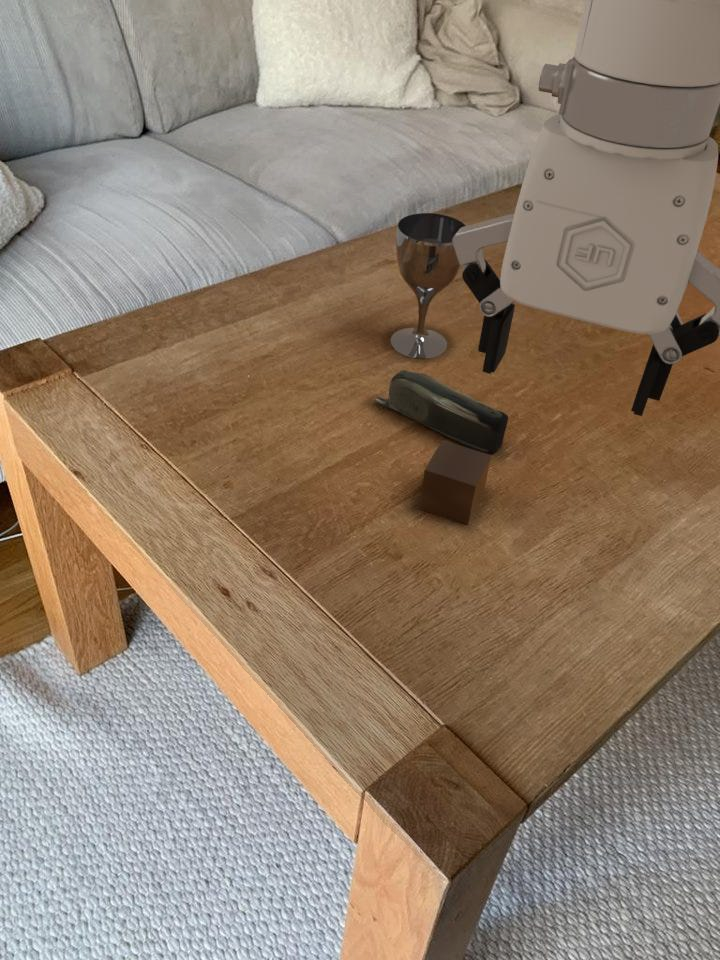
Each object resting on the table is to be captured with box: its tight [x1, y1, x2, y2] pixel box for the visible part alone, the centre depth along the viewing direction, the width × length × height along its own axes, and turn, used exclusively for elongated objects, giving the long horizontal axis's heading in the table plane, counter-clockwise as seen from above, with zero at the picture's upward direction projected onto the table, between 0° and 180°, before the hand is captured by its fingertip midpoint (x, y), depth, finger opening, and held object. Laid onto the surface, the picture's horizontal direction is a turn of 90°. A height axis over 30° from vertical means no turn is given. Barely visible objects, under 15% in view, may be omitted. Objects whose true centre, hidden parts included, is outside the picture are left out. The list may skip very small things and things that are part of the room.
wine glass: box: [389, 212, 466, 360], centre depth 97 cm, size 8×8×15 cm
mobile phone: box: [374, 369, 509, 454], centre depth 87 cm, size 5×3×15 cm
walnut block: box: [418, 439, 492, 526], centre depth 78 cm, size 5×5×5 cm
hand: (564, 382), depth 53 cm, fingers open, 9 cm apart
